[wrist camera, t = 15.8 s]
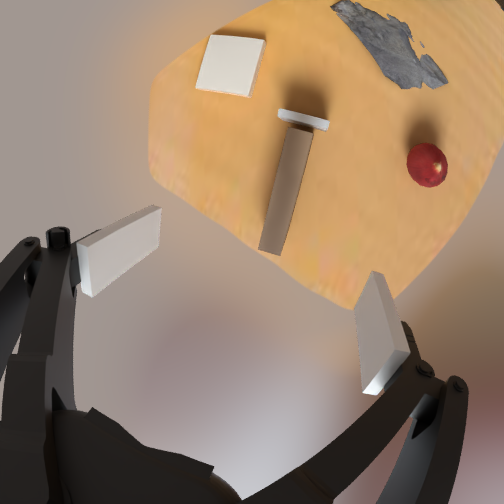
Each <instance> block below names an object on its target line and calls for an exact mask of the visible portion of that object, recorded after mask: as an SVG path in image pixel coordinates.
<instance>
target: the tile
mask: <svg viewBox="0 0 504 504" xmlns="http://www.w3.org/2000/svg"><path fill="white" fill-rule="evenodd" d="M265 48H266V42H265V41H264V40H262V39H255V38H246V37H237V36H224V35H211V36H210V39H209V42H208V45H207V48H206V51H205V55H204V58H203V61H202V65H201V68H200V72H199V76H198V79H197V83H196V87H195V88H197V89H199V90H205V91H213V92H220V93H226V94H233V95H238V96H244V97H249V98H252V94H253V90H254V87H255V83H256V79H257V76H258V72H259V69H260V65H261V61H262V58H263V55H264V51H265Z"/></svg>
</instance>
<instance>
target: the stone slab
mask: <svg viewBox="0 0 504 504" xmlns="http://www.w3.org/2000/svg"><path fill="white" fill-rule="evenodd" d="M355 4H356V5H355ZM355 4H354V3H353V2H351V1H350V0H346V1H344V0H342V1H339V2H338V3H336V4H335V5H333V6H330V7H331V8H332V10H333V9H334V11H336V12H337V13H336V14H337V15H338V16H339V17H340V18H341V19H342V20H343V21H344V22H345V23H346V24H347V25H348V26H349V28H350V29H351V30H352V31H353V32H354V34H355V35H356V36H357V37H358V38H359V39H360V40H361V42H362V43H363V44H364V46H365V47H366V48H367V50H368V51H369V52H370V53H371V55H372V56H373V58H374V59H375V61H376V62H377V64H378V65H379V67H380V68H381V70H382V72H383V74H384V75H385V76H386V77H388V78H389V79H390V80H392V81H393V82H395V83H396V84H398V85H399V86H400V88H401V89H410V88H411V87H417V88H421V87H422V82H424V83H425V84H426V85H427V86H428V87H430V88H432V89H435V88H437V87H440V86H442V85H444V84H447V83H448V81H447V79H446V78H445V76H444V75H443V73H442V71H441V70H440V69H439V67H438V66H437V65H436V63H435V62H434V61H433V59H432V58H431V57H430V56H429V55H427V54H426V55H421V58H420V61H419V59H418V58H417V56H416V54H415V52H414V50H413V49H412V47H411V45H410V42H409V37H410V38H411V39H412V35H411V31H410V29H409V27H408V25H407V24H406V23H405V22H400V21H399V20H398V19H396V18H395V17H393V16H391V15H389V14H387V16H388V18H389V19H390V20H387V19H386V18H384V17H382V16H381V15H379V14H378V13H376V12H375V11H371V10H369V9H367V8H364V7H363V6H361V5H360V4H359V3H357V2H355ZM338 13H339V14H338ZM341 15H342V16H341ZM408 36H409V37H408ZM412 41H413V39H412ZM413 42H414V41H413ZM420 43H421V42H420ZM421 45H422V47H423V48H424V46H423V44H422V43H421Z"/></svg>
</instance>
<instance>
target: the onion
mask: <svg viewBox="0 0 504 504" xmlns="http://www.w3.org/2000/svg"><path fill="white" fill-rule="evenodd" d="M407 168H408V172H409V174H410V175H411V177H412V179H413V180H414V181H416V182H417V183H418V184H419V185H421V186H425V187H435V186H438V185H439V184H440V183H442V182H443V181H444V180H445V177H446V175H447V168H448V164H447V160H446V157H445V155H444V154H443V152H442V151H441V150H440V149H439V148H437V147H436V146H435V145H433V144H429V143H422V144H418V145H416V146H415V147H413V148H412V149H411V151H410V153H409V155H408V157H407Z"/></svg>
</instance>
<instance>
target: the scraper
mask: <svg viewBox="0 0 504 504" xmlns="http://www.w3.org/2000/svg"><path fill="white" fill-rule="evenodd" d="M278 117H279V118H281V119H282V120H283V121H287V122H291V123H295V124H299V125H303V126H307V127H311V128H314V129H318V130H322V131H325V132H326V131H327V129H328V126H329V122H330V121H328V120H324V119H321V118H317V117H313V116H310V115H306V114H302V113H298V112H294V111H289V110H285V109H280V108H279V111H278ZM313 136H314V135H313V133H310V132H306V131H303V130H299V129H295V128H291V127H288V129H287V133H286V137H285V141H284V145H283V150H282V154H281V158H280V162H279V166H278V170H277V174H276V178H275V182H274V186H273V190H272V194H271V198H270V203H269V207H268V211H267V215H266V219H265V223H264V227H263V231H262V235H261V239H260V243H259V247H258V250H262V251H265V252H268V253H272V254H275V255H278V256H280V255H281V252H282V249H283V246H284V243H285V240H286V236H287V233H288V229H289V226H290V222H291V218H292V215H293V211H294V208H295V204H296V200H297V197H298V193H299V189H300V186H301V182H302V178H303V174H304V171H305V167H306V163H307V159H308V155H309V151H310V147H311V143H312V140H313Z"/></svg>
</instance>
